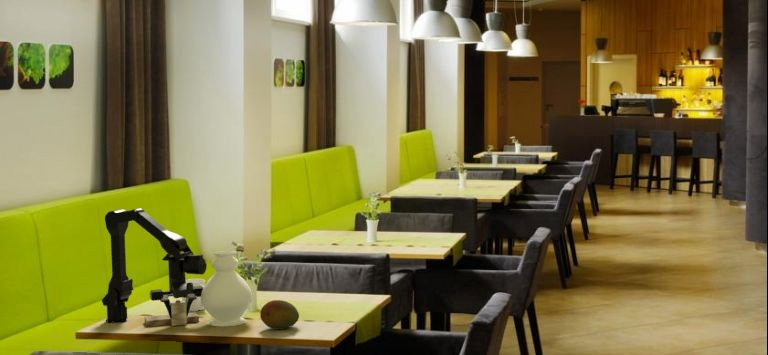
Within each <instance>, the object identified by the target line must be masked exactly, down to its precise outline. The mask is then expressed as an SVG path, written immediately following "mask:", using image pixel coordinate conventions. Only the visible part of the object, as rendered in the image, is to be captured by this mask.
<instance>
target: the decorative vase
mask: <svg viewBox="0 0 768 355" xmlns="http://www.w3.org/2000/svg"><path fill="white" fill-rule="evenodd" d="M236 253H237V251H236V250H232V249H231V250H230V249H228V250H227V249H226V250H225V249H224V250H223V249H222V250H217V251H213V255H214V256H216V257H215V258H213V259H212V261H211V267H212V268H213V269H214V270H215V272H214V274H212V276H211V277H209V279H208V280H207V282H205V286H204V288H203V290H202V293H201V303H202V305H203V307H204V308H205V309H204V310H205V311H206V312H207V313H208V314H209V315H210V316H211V317H212V318H213V319H210V320H209V322H208V323H209V326H212V327H213V326H214V327H224V328H225V327H235V326H240V325H243V324H246V319H245V318H243V317H242V316H243V315H244V314H245V312H246V311H247V310H248V308H249V306H250V305H251V303H252V300H253V294H252V293H253V292H252V289H251V287H250V286H249V284H248V282H247V281H246V280H245V279H244V278H243V277H242V276H241V275H240V274H239V273H238V272H237V271H235V270H236V269H237V268H238V267H239V265H240V262H239V260H238V259H237V257H235V255H236Z"/></svg>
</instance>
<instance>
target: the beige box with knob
mask: <svg viewBox="0 0 768 355" xmlns="http://www.w3.org/2000/svg"><path fill="white" fill-rule="evenodd" d="M170 307H171V314H172V318H171V324H170V325H171V326H173V327H175V326H183V325H184V326H186V325H188V323H187V316H186V302H185V301H182V300H180V299H176V300H175V301H170Z"/></svg>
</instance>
